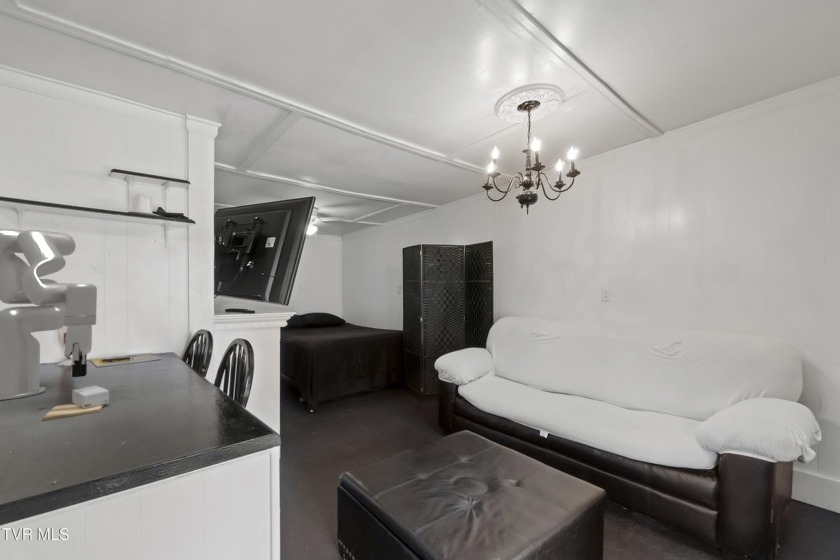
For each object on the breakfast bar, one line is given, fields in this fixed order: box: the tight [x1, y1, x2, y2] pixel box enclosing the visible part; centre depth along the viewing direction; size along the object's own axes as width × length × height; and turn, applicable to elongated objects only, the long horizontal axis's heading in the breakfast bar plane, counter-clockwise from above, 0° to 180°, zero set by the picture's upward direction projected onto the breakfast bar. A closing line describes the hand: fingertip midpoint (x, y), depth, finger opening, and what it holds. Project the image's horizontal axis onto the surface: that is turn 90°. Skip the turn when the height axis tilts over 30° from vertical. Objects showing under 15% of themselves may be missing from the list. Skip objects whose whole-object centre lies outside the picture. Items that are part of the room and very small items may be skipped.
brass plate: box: [41, 402, 105, 422], centre depth 105 cm, size 13×12×1 cm
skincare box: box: [71, 385, 110, 409], centre depth 109 cm, size 6×4×12 cm
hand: (79, 376), depth 112 cm, fingers closed
